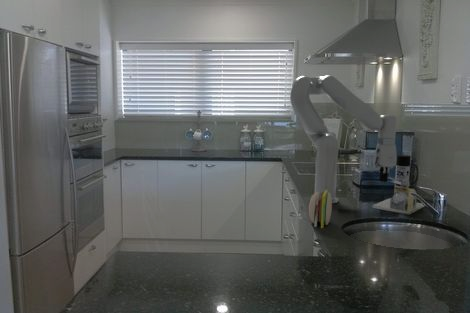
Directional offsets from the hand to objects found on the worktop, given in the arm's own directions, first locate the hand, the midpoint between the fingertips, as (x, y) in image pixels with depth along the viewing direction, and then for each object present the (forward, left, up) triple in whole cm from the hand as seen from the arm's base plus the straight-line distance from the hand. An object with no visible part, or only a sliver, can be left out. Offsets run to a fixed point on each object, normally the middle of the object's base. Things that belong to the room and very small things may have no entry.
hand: (383, 181), depth 200 cm
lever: (0, -6, 0) cm, 6 cm away
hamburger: (-52, +4, -10) cm, 53 cm away
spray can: (+26, 0, -10) cm, 28 cm away
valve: (-3, -9, -10) cm, 14 cm away
